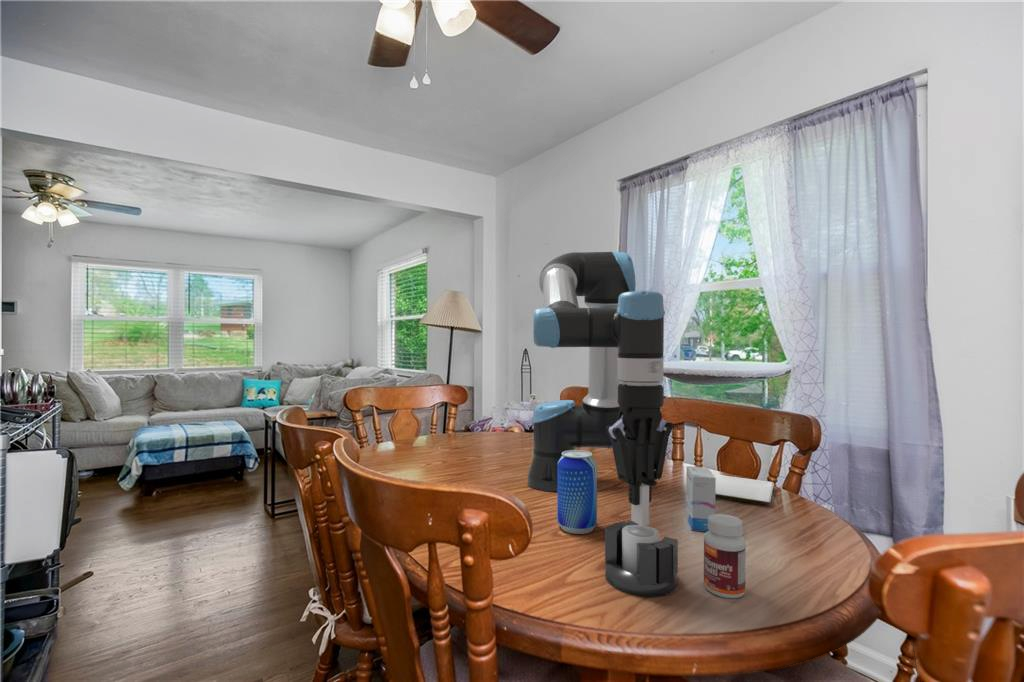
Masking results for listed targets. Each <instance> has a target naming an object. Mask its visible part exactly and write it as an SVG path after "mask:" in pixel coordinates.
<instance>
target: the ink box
mask: <svg viewBox="0 0 1024 682" xmlns="http://www.w3.org/2000/svg"><path fill="white" fill-rule="evenodd" d="M685 479H686V482H685V483H686V484H685V517H684V518H685V519H686V521H687V523H688V525H689V528H690V529H691V531H697V532H708V531H709V529H708V526H707V525H708V516H710V515H713V514H716V497H715V491H716V478H715V476H714V475H713V472H712V471H711V470H710V469H709V467H701V466H700V467H699V466H691V465H690V466H689V465H688V466H686V477H685Z"/></svg>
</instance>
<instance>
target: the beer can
mask: <svg viewBox="0 0 1024 682" xmlns="http://www.w3.org/2000/svg"><path fill="white" fill-rule="evenodd" d="M597 482H598V465H597V462H596V461H595V459H594V457H593V453H592V452H590V451H588V450H582V449H579V450H578V449H575V450H568V451H564V452H562V456H561V458H560V460H559V461H558V477H557V491H556V492H557V497H556V498H557V500H556V501H557V506H556V507H557V513H556V514H557V515H556V516H557V517H556V518H557V523H558V524H559V526H560V528H561V530H563V532H565V533H569V534H575V535H584V534H588V533H591V532H593V530H594V528H595V527H596V526H597V521H598V518H597V517H598V515H597V514H598V511H597V510H598V499H597V498H598V496H597V494H598V492H597V491H598V490H597V489H598V488H597V487H598V486H597V485H598V483H597Z"/></svg>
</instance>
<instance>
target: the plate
mask: <svg viewBox="0 0 1024 682" xmlns="http://www.w3.org/2000/svg"><path fill="white" fill-rule="evenodd" d="M712 474H713V473H712ZM713 475H714V476H715V478H716V491H715V498H719V499H720V498H721V499H726V500H733V501H739V502H745V503H751V504H757V505H759V504H762V505H763V504H770V503H771V500H772V499H771V498H772V494H773V489H774V484H775V482H773V481H768V480H758V479H753V478H752V479H751V478H745V477H744V478H742V477H739V476H738V477H736V476H728V475H722V474H717V473H716V474H715V473H714V474H713Z"/></svg>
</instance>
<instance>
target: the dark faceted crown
mask: <svg viewBox="0 0 1024 682" xmlns="http://www.w3.org/2000/svg"><path fill="white" fill-rule="evenodd" d="M628 525H639V524H637V523H635V522H633V521H631V520H626V521H625V520H623V521H619V522H614V523H612V524H609V525H608V526H606V527H605V528H604V560H605V561H604V562H605V563H604V565H605V567H604V570H605V571H604V575H605V580H606V581H607V583H608V584H609V585H610V586H612V587H613V588H615V589H616V590H618V591H619V592H620V591H621V592H623V593H625V594H627V595H632V596H635V597H637V596H638V597H643V598H658V597H663V596H666V595H669V594H671V593H672V592H674V591H675V590H676V588H677V584H678V583H677V582H678V581H677V580H678V577H677V576H678V572H679V571H678V569H679V568H678V565H679V564H678V563H679V562H678V560H679V559H678V558H679V555H678V554H679V550H678V546H679V544H678V542H679V540H678V539H677V538H674V537H673V538H672V537H669V536H664V537H663V538H662V539H661V540H659V542H655V543H637V575H635V574H631V573H629V572H627V571H626V570H624V569H623V567H622V529H623V528H624V527H625V526H628Z"/></svg>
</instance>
